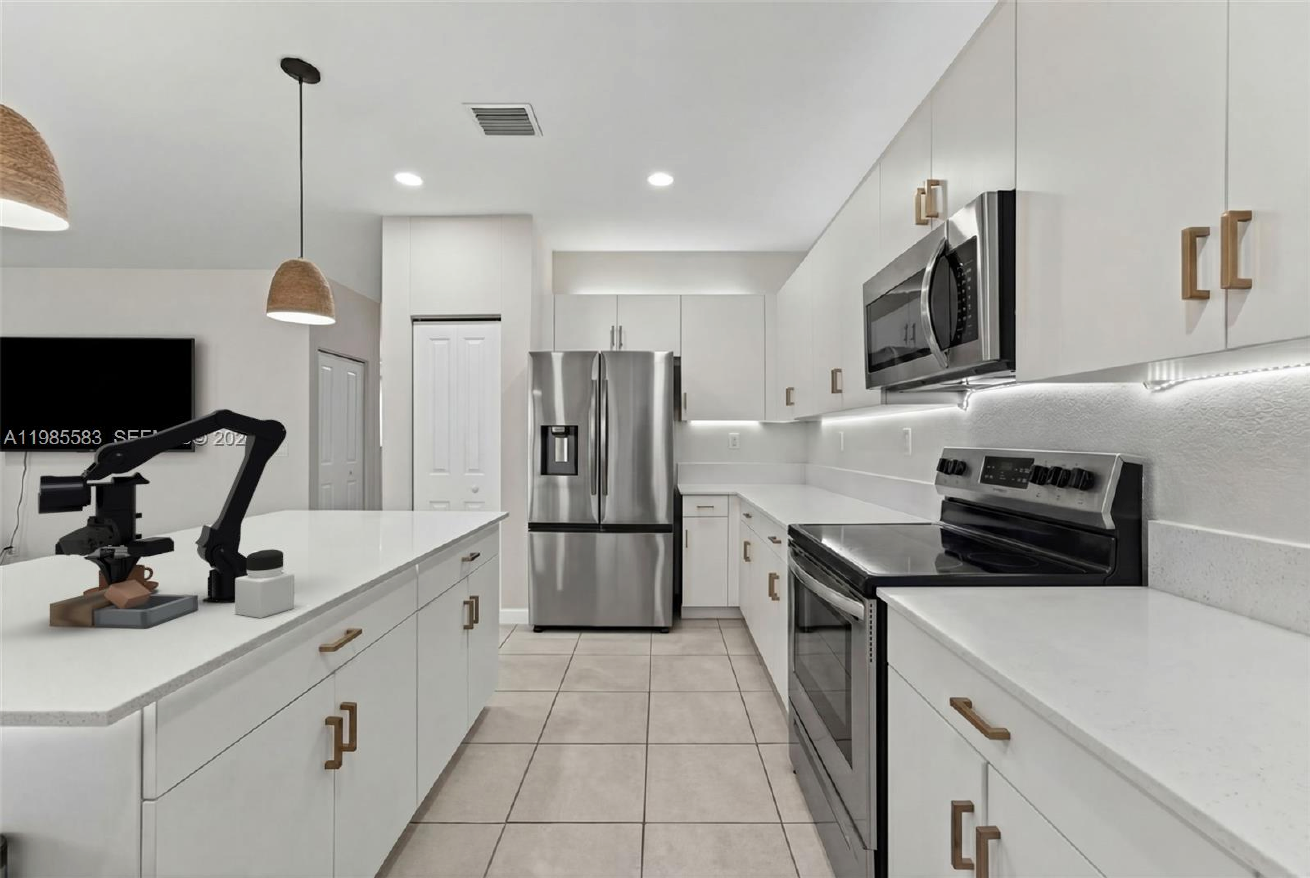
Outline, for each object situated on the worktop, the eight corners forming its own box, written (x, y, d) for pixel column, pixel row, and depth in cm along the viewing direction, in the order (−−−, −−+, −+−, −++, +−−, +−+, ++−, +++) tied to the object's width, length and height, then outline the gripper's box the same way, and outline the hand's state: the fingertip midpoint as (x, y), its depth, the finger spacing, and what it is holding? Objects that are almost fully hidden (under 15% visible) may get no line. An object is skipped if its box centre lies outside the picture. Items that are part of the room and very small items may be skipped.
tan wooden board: (147, 609, 117) (147, 589, 117) (91, 627, 106) (91, 605, 106) (109, 608, 117) (109, 588, 117) (49, 625, 106) (49, 603, 106)
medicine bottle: (294, 608, 118) (295, 549, 118) (260, 618, 111) (261, 555, 111) (269, 604, 120) (269, 546, 120) (234, 614, 114) (234, 553, 114)
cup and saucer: (114, 589, 131) (114, 562, 131) (172, 588, 132) (172, 561, 132) (66, 605, 119) (66, 575, 119) (130, 604, 120) (130, 574, 120)
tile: (144, 603, 113) (151, 593, 113) (121, 609, 108) (128, 598, 108) (127, 590, 113) (134, 579, 113) (103, 595, 109) (110, 584, 109)
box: (197, 610, 116) (197, 595, 116) (146, 628, 105) (146, 612, 105) (149, 609, 117) (149, 594, 117) (94, 627, 106) (94, 610, 106)
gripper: (21, 514, 104) (21, 601, 104) (121, 516, 103) (120, 605, 103) (86, 506, 115) (86, 585, 115) (176, 508, 114) (176, 588, 114)
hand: (115, 591), depth 111 cm, fingers closed
